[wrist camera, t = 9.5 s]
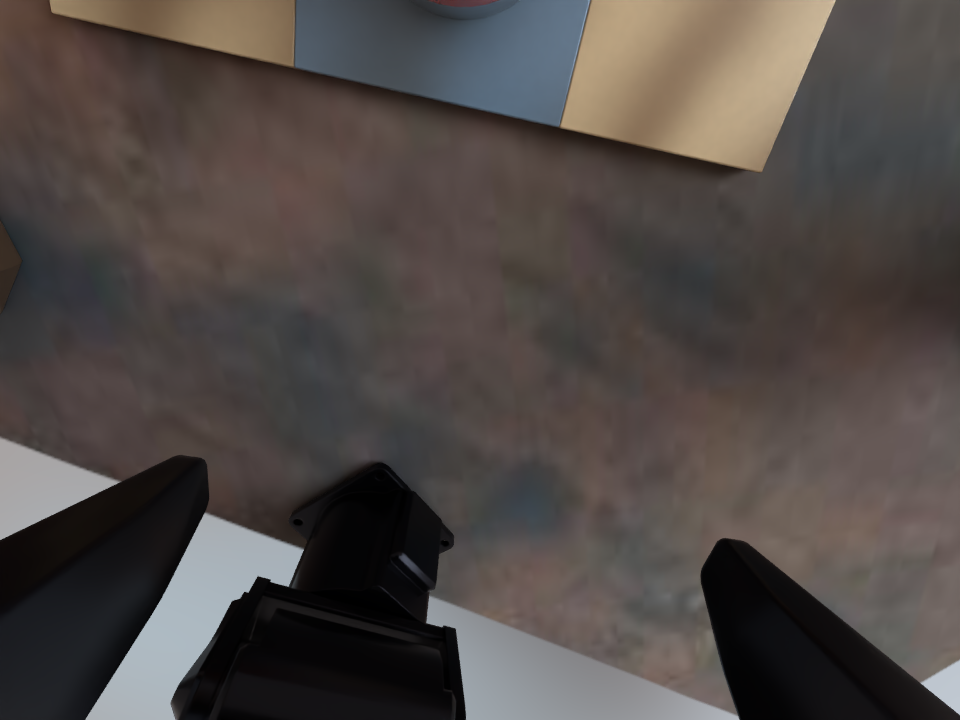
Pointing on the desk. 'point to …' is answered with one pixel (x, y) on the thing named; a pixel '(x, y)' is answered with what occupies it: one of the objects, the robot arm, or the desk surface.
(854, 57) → the desk surface
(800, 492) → the desk surface
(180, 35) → the board
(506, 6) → the tin can
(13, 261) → the beer bottle
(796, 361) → the desk surface
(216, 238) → the desk surface
